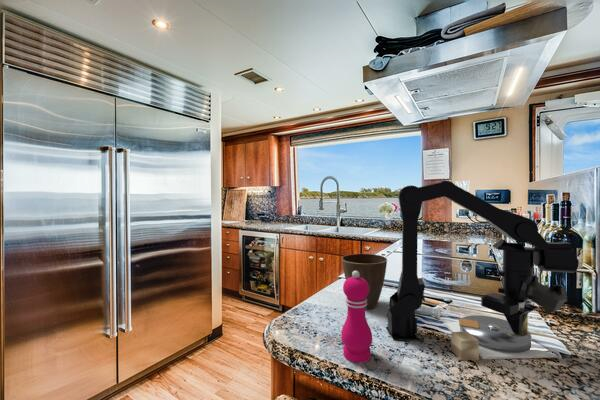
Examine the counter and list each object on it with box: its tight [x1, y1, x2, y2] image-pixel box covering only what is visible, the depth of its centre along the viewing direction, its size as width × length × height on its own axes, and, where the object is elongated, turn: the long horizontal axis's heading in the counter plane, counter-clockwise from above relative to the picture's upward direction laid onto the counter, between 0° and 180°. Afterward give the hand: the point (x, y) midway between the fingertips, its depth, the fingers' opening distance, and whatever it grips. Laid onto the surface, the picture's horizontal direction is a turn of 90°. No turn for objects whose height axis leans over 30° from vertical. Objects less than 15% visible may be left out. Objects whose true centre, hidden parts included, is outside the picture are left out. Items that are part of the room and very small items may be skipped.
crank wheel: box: [458, 314, 532, 352], centre depth 72 cm, size 15×15×8 cm
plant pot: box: [341, 253, 388, 310], centre depth 95 cm, size 15×15×16 cm
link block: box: [450, 331, 480, 361], centre depth 65 cm, size 4×4×4 cm
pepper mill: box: [340, 271, 373, 364], centre depth 66 cm, size 7×7×20 cm
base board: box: [442, 321, 558, 360], centre depth 72 cm, size 17×17×1 cm
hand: (516, 333), depth 67 cm, fingers closed
